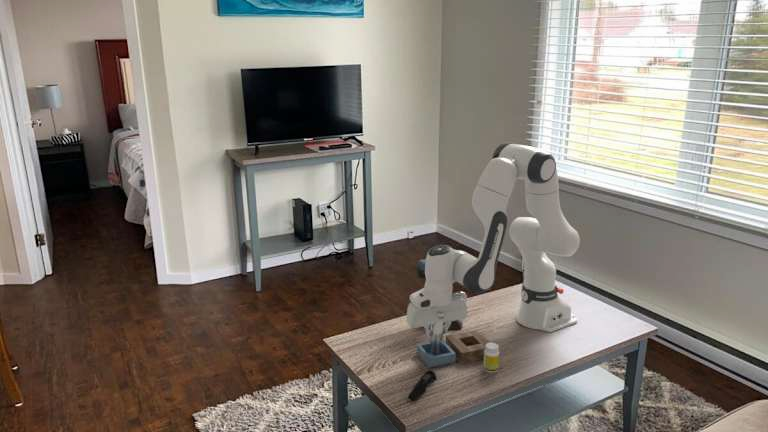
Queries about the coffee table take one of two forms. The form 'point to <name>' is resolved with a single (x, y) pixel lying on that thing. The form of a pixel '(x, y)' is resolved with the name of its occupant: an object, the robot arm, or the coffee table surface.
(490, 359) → the supplement bottle
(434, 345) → the silver elongated piece
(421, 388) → the electric trimmer
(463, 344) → the square wooden frame
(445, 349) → the blue square tray
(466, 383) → the coffee table surface
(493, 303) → the coffee table surface
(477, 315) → the coffee table surface
